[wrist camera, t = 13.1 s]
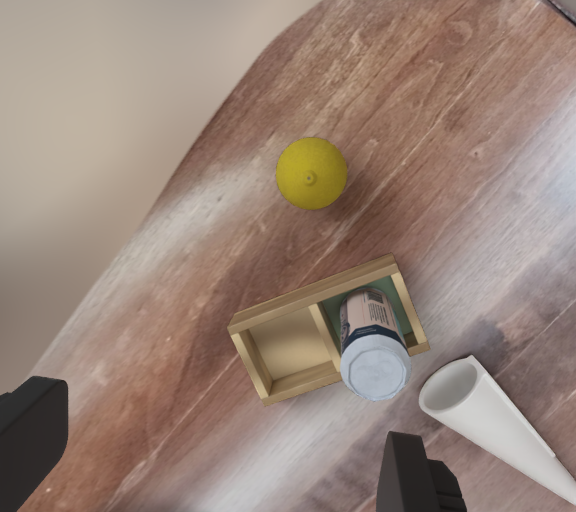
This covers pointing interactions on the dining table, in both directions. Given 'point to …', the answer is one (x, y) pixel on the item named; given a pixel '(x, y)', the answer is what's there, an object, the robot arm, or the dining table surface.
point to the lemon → (311, 173)
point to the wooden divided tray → (314, 330)
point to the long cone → (493, 423)
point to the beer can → (372, 346)
